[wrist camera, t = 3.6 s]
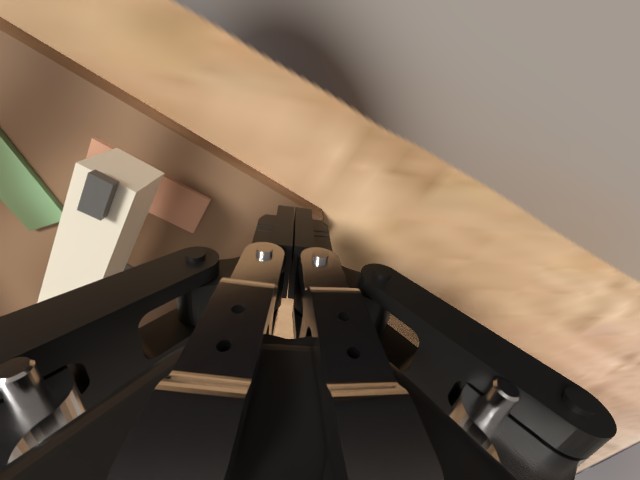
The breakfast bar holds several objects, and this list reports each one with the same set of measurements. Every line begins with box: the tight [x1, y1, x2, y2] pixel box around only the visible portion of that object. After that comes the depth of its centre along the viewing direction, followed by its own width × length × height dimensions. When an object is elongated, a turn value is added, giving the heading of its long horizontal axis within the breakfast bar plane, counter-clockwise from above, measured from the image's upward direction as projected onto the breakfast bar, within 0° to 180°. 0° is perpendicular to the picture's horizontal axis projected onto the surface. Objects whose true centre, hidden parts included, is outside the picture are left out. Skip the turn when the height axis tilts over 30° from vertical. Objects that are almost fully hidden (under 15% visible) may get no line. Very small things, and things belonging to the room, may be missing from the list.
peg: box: [37, 148, 165, 303], centre depth 14 cm, size 4×13×6 cm, turn 146°
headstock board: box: [0, 17, 323, 328], centre depth 18 cm, size 18×18×2 cm
